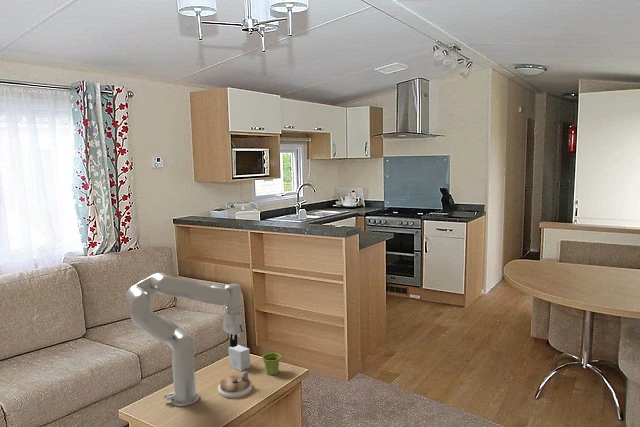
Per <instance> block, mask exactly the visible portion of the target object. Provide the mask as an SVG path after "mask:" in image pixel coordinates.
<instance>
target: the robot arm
mask: <svg viewBox="0 0 640 427" xmlns="http://www.w3.org/2000/svg"><path fill="white" fill-rule="evenodd" d="M156 294H159V295H163V296H167V297H174V298H181V299H186V300H191V301H196V302H200V303H205V304H210V305H216V306H217V305H218V306H224V305H225V306H224V308H225V309H224V312H223V316H222V317H223V319H222V321H223V322H222V331H223V332H225V333H226V334H227V335H228V338H229V347H236V346H237V344H238V339H239V338H241V337H243V332H244V320H243V314H242V288H241V285H240V284H239V283H234V282H232V283H228V284H213V285H211V286H209V285H206V284H203V283H200V282H198V281H196V280H192V279H188V278H182V277H181V278H180V277H176V276H171V275H168V274H166V273H164V272H157V273H153V274H152V275H150V276H148V277H146V278H145V279H143V280H141V281H139V282H137V283H136V284H134V285H132V286H131V287H130V288H129V289H128V290H127V291H126V294H125V299H126V302H127V303H128V304H129V306H130V311H129V313H130V314H129V315H130V319H131V321H132V323H133V324H134V325H135V326H136V327H138V328H139V329H141V330H142V331H143V332H144V333H146V334H148V335H149V336H151V337H152V338H154V340H156V341H159V343H164V344H165V345H167V346H168V347H169V348H170V350H171V351H172V360H171V365H172V366H171V367H172V380H173V381H172V382H173V389H172V391H170V393H163V399H166V401H169V400H170V402H171V404H172V405H174V406H175V407H187V406H191V405H193V404H195V403H197V402H198V401H199V399H200V393H199V392H198V391H196V390H197V389H196V374H195V373H196V372H195V359H194V358H195V357H194V356H195V342H194V339H193V337H192V336H191V335H190V334H189V333H188V332H186V331H185V330H184V329H183V328H182V327H180V326H179V325H178V324H176V323H174V322H173V321H172V320H170V319H169V318H167V317H165V316H163V315H158V314H157V313H155V311H153V310H152V309H151V305H152V296H153V295H156Z"/></svg>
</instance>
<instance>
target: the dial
mask: <svg viewBox="0 0 640 427" xmlns="http://www.w3.org/2000/svg"><path fill="white" fill-rule="evenodd" d="M250 381H251V380H250V378H249V372H248V371H247V370H243V371H241V375H240V374H237V375H236V374H235V375H230V376H227V377H226V376H225V377H224V378H223V379H221V381H220V383H219V384H220V388H221V390H223V391H225V392H239V391H242V390H244V389H246V388H248V387H249V385H250Z"/></svg>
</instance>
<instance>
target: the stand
mask: <svg viewBox="0 0 640 427" xmlns="http://www.w3.org/2000/svg"><path fill="white" fill-rule="evenodd" d="M252 390H253V383H252V381H251V380H250V385H249V387H248V388H246V389H244V390H242V391H239V392H225V391H223V390H221V388H220V383H219V384H218V386H217V392H218V395H220V396H221V397H223V398H226V399H235V398H237V399H238V398H242V397H244V396H247V395H249V394H250V392H252Z"/></svg>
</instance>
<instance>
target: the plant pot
mask: <svg viewBox="0 0 640 427" xmlns="http://www.w3.org/2000/svg"><path fill="white" fill-rule="evenodd" d="M281 357H282V355H281V354H280V353H278V352H270V353H269V352H268V353H266V354H264V355H262V357H261V359H262V361H263V362H264V368H265V373H266V375H268V376H275V375H277V374H278V373H279V367H280V366H279V365H280V360H281Z"/></svg>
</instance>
